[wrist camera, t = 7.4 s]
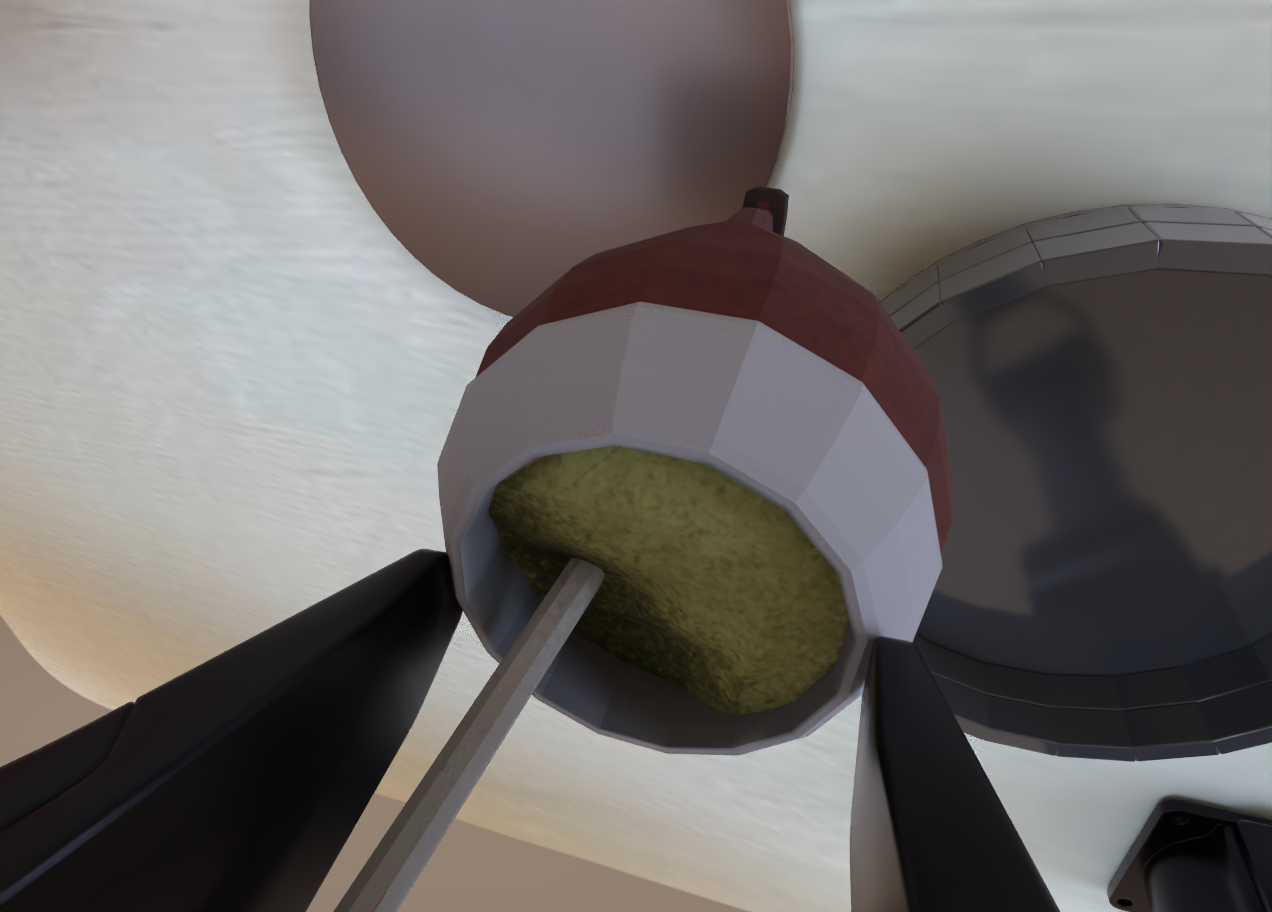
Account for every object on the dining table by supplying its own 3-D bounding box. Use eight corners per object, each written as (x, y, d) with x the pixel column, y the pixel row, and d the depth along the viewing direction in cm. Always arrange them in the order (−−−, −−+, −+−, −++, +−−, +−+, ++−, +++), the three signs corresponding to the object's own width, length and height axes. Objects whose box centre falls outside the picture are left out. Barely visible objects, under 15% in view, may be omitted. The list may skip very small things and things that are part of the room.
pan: (1279, 726, 22) (1324, 816, 20) (778, 627, 26) (765, 692, 24) (1630, 219, 14) (1781, 268, 12) (822, 191, 18) (808, 223, 16)
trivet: (774, 341, 20) (772, 346, 20) (379, 305, 24) (372, 309, 24) (822, -308, 13) (820, -315, 13) (255, -224, 17) (243, -228, 17)
